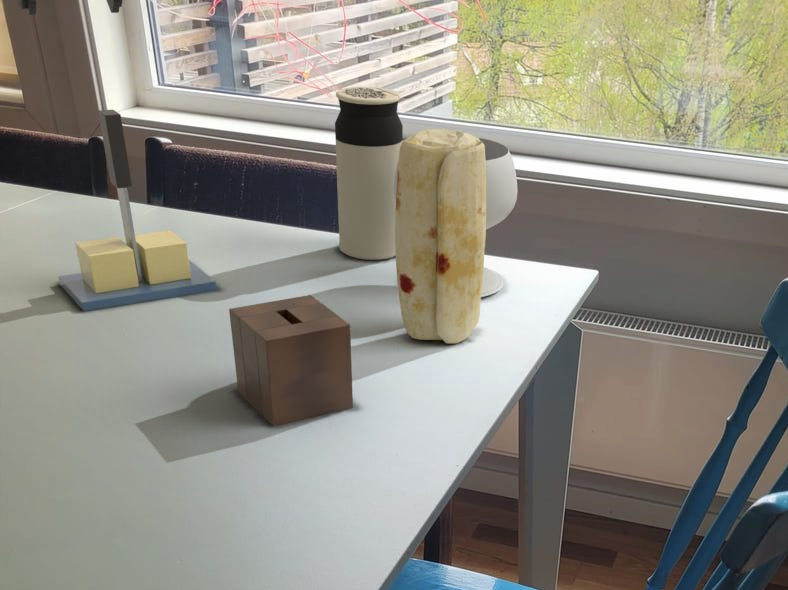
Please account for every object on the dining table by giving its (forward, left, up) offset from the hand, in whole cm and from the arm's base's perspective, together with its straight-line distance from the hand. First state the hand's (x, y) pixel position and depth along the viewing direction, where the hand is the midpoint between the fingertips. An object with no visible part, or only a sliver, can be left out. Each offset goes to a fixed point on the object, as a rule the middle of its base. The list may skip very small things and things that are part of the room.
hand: (75, 8), depth 103 cm
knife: (+4, -9, -25) cm, 27 cm away
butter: (+4, -9, -26) cm, 28 cm away
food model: (+38, -21, -26) cm, 50 cm away
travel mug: (+30, +6, -26) cm, 40 cm away
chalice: (+40, -5, -26) cm, 48 cm away
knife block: (+24, -37, -26) cm, 51 cm away
